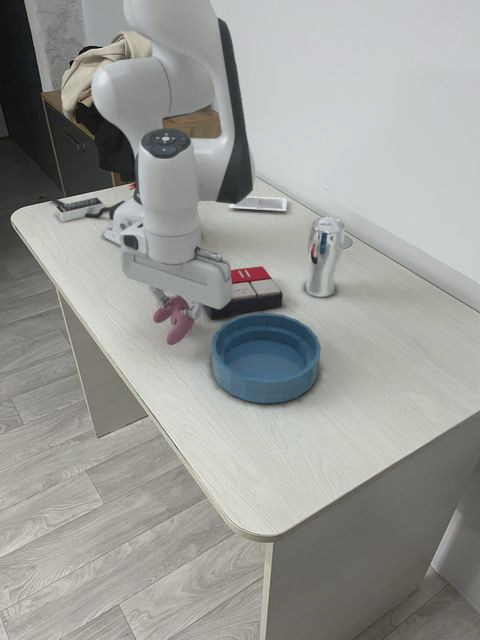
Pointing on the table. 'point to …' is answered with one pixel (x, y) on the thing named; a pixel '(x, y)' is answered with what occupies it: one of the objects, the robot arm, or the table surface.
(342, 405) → the table surface
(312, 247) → the beer glass
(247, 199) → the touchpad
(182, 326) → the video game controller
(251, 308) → the red and gray box
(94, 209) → the multiport hub
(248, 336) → the blue bowl
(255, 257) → the table surface
